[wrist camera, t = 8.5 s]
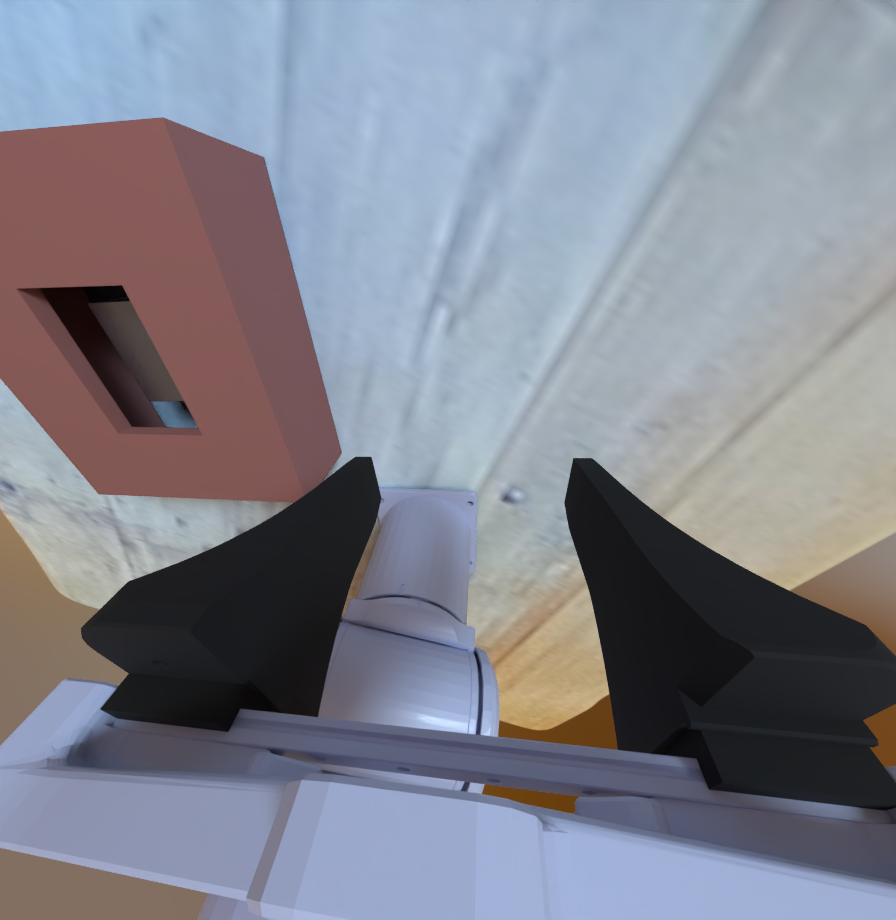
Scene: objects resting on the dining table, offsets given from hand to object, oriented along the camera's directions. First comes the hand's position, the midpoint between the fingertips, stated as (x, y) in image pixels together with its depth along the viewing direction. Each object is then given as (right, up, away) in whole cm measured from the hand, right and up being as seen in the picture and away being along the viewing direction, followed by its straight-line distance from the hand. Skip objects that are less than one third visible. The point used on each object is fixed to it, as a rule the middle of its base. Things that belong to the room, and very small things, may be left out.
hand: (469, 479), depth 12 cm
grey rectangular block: (-16, +8, +8) cm, 20 cm away
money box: (-16, +8, +8) cm, 20 cm away
